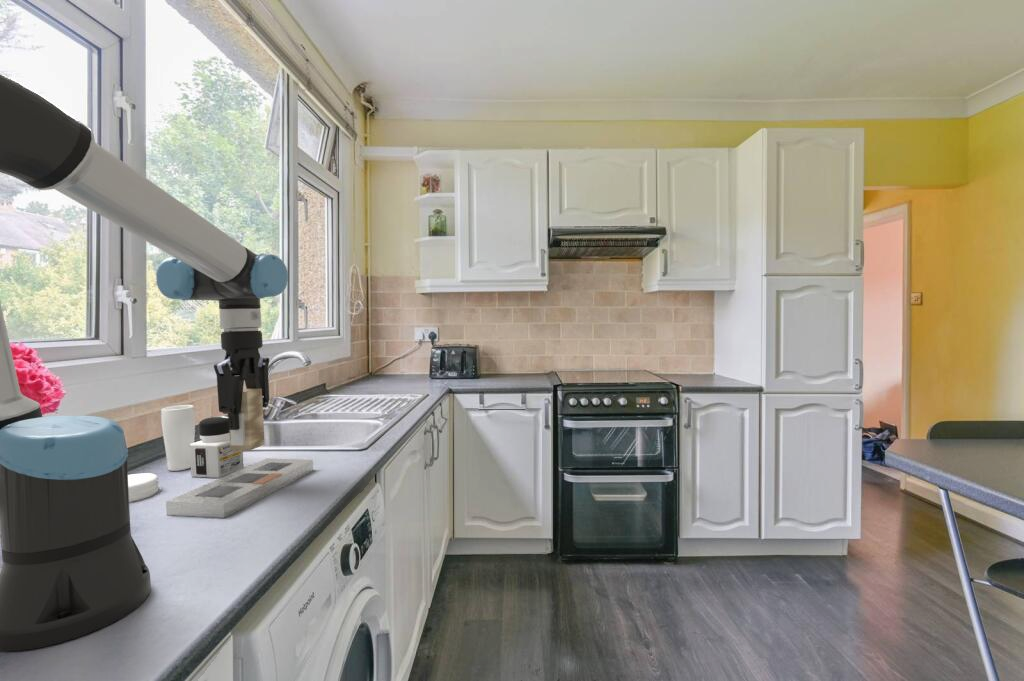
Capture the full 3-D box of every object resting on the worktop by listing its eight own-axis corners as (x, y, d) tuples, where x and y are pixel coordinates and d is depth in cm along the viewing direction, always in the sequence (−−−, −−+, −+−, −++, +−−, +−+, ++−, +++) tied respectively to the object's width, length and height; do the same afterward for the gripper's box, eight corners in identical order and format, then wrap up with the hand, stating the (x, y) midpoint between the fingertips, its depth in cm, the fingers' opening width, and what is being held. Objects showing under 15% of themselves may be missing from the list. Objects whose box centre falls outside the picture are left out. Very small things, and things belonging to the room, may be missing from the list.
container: (219, 478, 112) (216, 421, 111) (190, 477, 113) (187, 420, 112) (244, 468, 119) (241, 414, 118) (216, 467, 121) (214, 414, 120)
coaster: (90, 499, 100) (89, 482, 100) (148, 485, 109) (147, 469, 108) (106, 509, 95) (105, 491, 94) (166, 494, 103) (165, 477, 103)
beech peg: (249, 450, 101) (246, 391, 100) (230, 449, 101) (227, 391, 101) (264, 444, 105) (261, 388, 104) (245, 444, 106) (242, 388, 105)
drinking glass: (164, 467, 121) (161, 406, 120) (197, 462, 125) (194, 403, 124) (163, 474, 115) (160, 410, 115) (197, 469, 119) (194, 407, 119)
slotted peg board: (224, 518, 89) (223, 503, 88) (166, 514, 91) (165, 500, 91) (313, 470, 116) (312, 459, 116) (267, 468, 118) (267, 457, 118)
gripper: (225, 331, 93) (232, 453, 94) (284, 328, 110) (289, 432, 111) (191, 331, 94) (198, 452, 95) (254, 329, 111) (259, 431, 112)
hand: (247, 441), depth 103 cm, fingers closed on beech peg, 4 cm apart
